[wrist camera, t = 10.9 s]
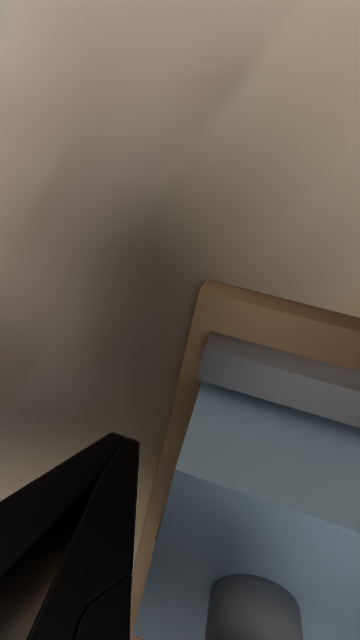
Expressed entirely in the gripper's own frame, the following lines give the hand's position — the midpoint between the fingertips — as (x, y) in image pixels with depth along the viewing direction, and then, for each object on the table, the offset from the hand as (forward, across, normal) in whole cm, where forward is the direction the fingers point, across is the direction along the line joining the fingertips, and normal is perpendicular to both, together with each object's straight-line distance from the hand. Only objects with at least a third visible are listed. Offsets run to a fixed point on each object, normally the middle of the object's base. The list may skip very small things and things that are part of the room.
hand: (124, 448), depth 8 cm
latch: (+1, -4, 0) cm, 4 cm away
